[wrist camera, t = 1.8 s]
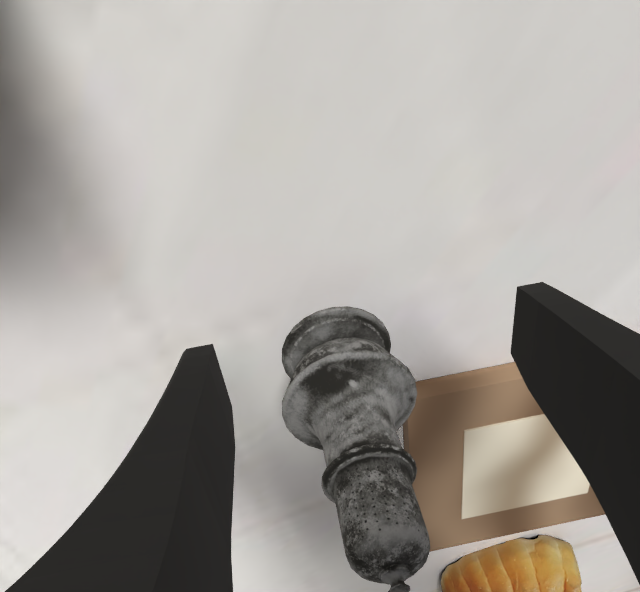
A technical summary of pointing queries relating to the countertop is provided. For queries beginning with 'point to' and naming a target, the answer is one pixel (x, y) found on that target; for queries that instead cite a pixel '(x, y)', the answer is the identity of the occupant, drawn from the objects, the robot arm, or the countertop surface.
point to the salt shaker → (359, 437)
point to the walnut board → (490, 460)
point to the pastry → (516, 568)
